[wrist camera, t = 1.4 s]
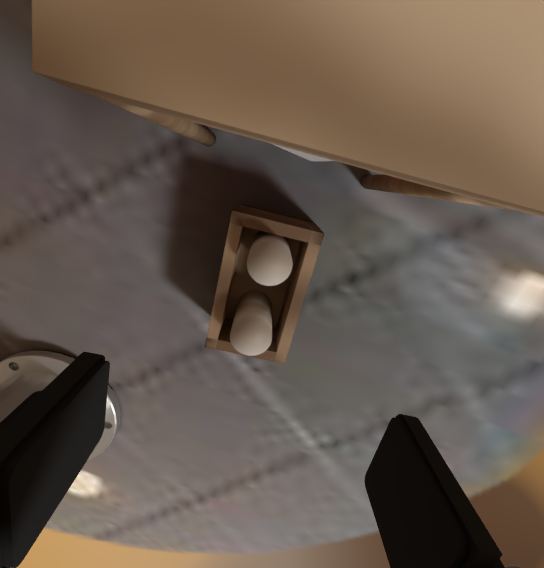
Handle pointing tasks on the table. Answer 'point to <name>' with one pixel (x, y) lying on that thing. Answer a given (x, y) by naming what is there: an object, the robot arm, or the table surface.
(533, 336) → the table surface
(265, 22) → the tan flanged panel
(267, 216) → the tray
